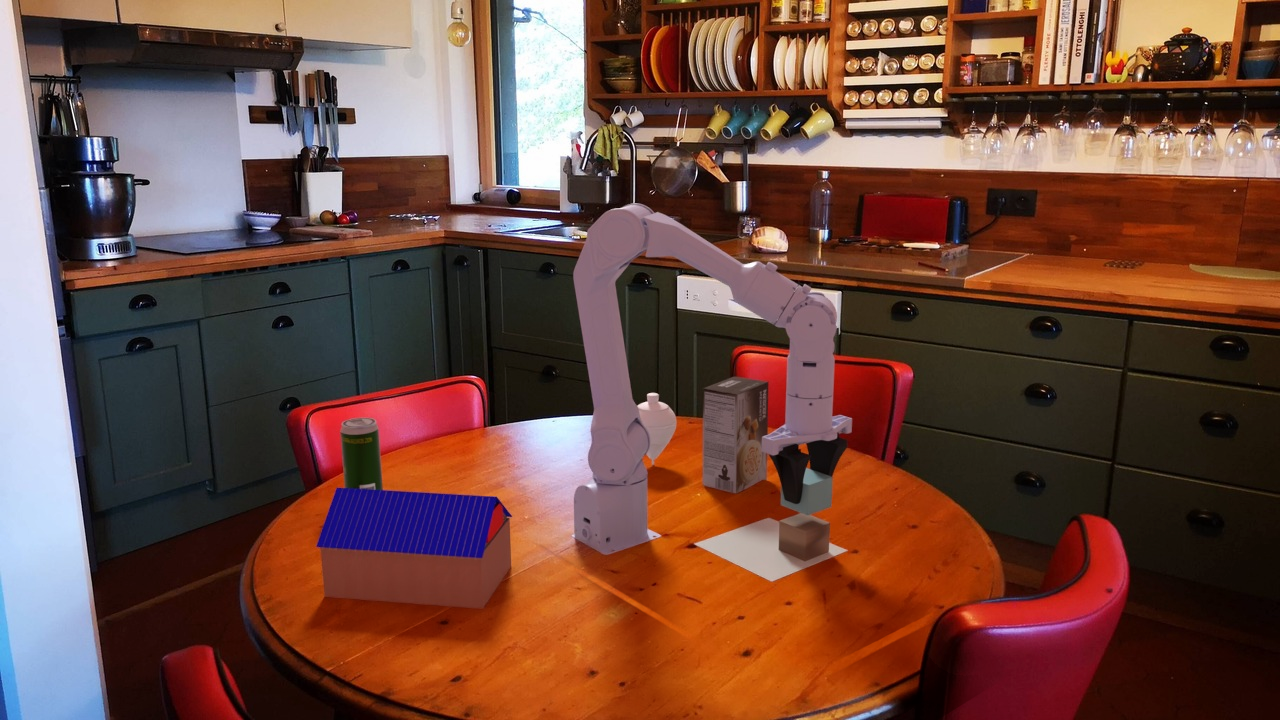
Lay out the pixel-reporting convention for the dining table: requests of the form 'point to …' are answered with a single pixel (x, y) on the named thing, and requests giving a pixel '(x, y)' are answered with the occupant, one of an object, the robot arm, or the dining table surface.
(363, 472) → the beer can
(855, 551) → the dining table surface
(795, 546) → the walnut block
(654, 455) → the spinning top
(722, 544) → the mat
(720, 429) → the coffee box
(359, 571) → the house
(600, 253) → the robot arm
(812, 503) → the teal block
